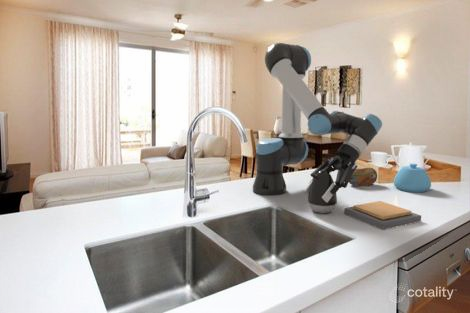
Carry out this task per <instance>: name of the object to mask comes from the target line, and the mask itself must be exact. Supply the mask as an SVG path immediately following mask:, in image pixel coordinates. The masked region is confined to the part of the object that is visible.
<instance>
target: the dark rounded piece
mask: <svg viewBox="0 0 470 313" xmlns="http://www.w3.org/2000/svg"><path fill="white" fill-rule="evenodd" d="M310 177H312V179H313V180H312V179H311V180H312V183H311V186H310V189H309V194H307V202H308V205H309V207H310V210H312V211H313V212H315V213H318V214H329V213H332V212H333V210H334V209H335V207H336V205H337V203H338V194H337V192H336V193H335V194H334V195H333V196H332V197H331V198H330V200H329V201H328V202H325V201H324V200H323V199H322V196H323V195H324V194H325V192H326V191H327V190H328V188H329V187H330V186H331V185H332V183H334V182H335V181H334V179H333V176H332V175H331V172H330V173H329V172H328V171H325V170H320V171H318V172H317V173H316V174H312V173H310ZM334 184H335V183H334Z"/></svg>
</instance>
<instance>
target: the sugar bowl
mask: <svg viewBox="0 0 470 313" xmlns="http://www.w3.org/2000/svg"><path fill="white" fill-rule="evenodd" d="M393 186H394V187H396V189H398V190H400V191H404V192H408V193H426V192H428V191H429V190H430V189H431V188H432V181H431V178H430V176H429V174H428V172H427V170H426V169H425V168H424V167H421V166H420V167H419V166H418V164H417V163H409V165H407V166H402V167H401V168H400V169H399V170H398V172H397V173H396V175H395V177H394V180H393Z"/></svg>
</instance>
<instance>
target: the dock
mask: <svg viewBox="0 0 470 313" xmlns="http://www.w3.org/2000/svg"><path fill="white" fill-rule="evenodd" d="M343 214H345V215H347V216H349V217H351V218H354V219H357V220H359V221H361V222H364V223H366V224H368V223H369V224H368V225H371V226H373V225H374V226H373V227H375V226H376V227H375V228H378V229H380V228H381V229H380V230H382V229H384V230H388V229H393V228H396V226H398V227H401V225H402V226H405V224H407V225H410V223H411V224H416V223H420V222H422V215H421V214H418V213H415V212H412V211H411V214H409V215H404V216H399V217H394V218H389V219H384V220H382V219H380V218H377V217H374V216H372V215H369V214H367V213H364V212H362V211H359V210H356V209H354V208H353V206H347V207H344V208H343ZM419 221H420V222H419ZM415 222H416V223H415ZM392 227H393V228H392ZM387 228H388V229H387Z"/></svg>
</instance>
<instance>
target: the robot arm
mask: <svg viewBox="0 0 470 313" xmlns="http://www.w3.org/2000/svg"><path fill="white" fill-rule="evenodd" d="M264 64H265V67H266V69H267V71H268V72H269V73H270V75H271V77H273V78H276V79H277V80H278V82H279V84H281V85H282V101H281V102H282V103H281V104H282V107H281V133H280V134H279V135H278V137H272V138H263V139H261V140H259V141H258V142H257V144H256V151H255V153H256V175H255V178H254V181H253V183H252V192H253V193H256V194H257V195H266V196H276V195H277V196H278V195H283V194H285V193H286V192H287V184H286V181H285V178H284V175H283V172H284V171H283V169H284V168H283V167H284V166H285V167H286V166H290V165H298V164H299V163H302V162H303V161H305V159H306V158H307V156H308V153H309V145H308V144H307V142H306V140H304V135H303V134H302V132H301V124H302V123H301V122H302V120H301V119H302V114H303V115H304V116H305V118H306V119H307V120H308V121H307V128H308V131H309V132H310V133H311V134H313V135H316V136H317V135H318V136H325V135H330V134H331V135H332V134H333V135H334V134H345V135H348V137H347V138H346V139H345V140H344V141H343V144H340V145H341V146H339V148H338V149H337V151H336V155H335V156H334V157H331V156H327V158H326V159H325V160H324V162H322V163H321V164H320V165H319V166H317V168H316V169H315V170H314V171H312V172H311V174H316V173H317V172H318V171H320V170H325V171H328V172H329V173H330V174H331V173H332V172H335V171H337V174H336V178H335V181H334V183H332V185H331V186H330V187H329V188H328V190H327V191H326V192H325V194H324V195H323V196H322V199H323V200H324V201H325V202H328V201H329V200H330V198H331V197H332V196H333V195H334V194H335V193H336V194H337V192H338V191H339V190H340V189H342V188H343V189H347V186H348V185H349V184H350V183H349V181H350V178H351V176H352V174H353V172H354V170H355V169H358V164H356V162H357V160H358V159H359V158H360V156H361V155H362V154H363V152H364V151H365V150H366V149H367V147H368V146H369V145H370V144H371V142H372V141H373V139H374V138H375V137H376V136H377V135H378V133H379V132H380V130H381V128H382V127H383V122H382V120H381V118H379V116H377V115H375V114H372V113H366V114H365V115H363V117H357V116H355V115H351V114H348V113H345V112H344V111H339V110H335V111H331V113H329V111H327V109H326V108H325V107H324V105H323V104H322V103H321V102H320V100H319V99H318V98H317V97H316V95H315V93H313V91H312V90H311V89H310V88H309V87H308V85H307V84H306V82H305V81H304V80H303V79H304V78H305V77H306V72H307V71H308V70H309V68H310V67H311V64H312V57H311V53H310V52H309V50H308V49H307V48H306V47H304V46H301V45H299V44H289V43H285V42H277V43H274V44H272V45H271V46H269V47H268V49H267V50H266V51H265V55H264ZM312 180H313V178H312V179H311V180H310V182H309V183H308V185H307V186H306V187H305V188H304V189H303V192H305V193H306V195H308V194H309V189H310V186H311V183H312Z"/></svg>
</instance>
